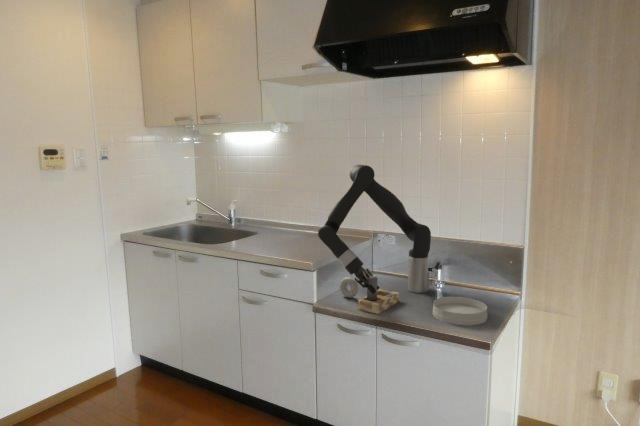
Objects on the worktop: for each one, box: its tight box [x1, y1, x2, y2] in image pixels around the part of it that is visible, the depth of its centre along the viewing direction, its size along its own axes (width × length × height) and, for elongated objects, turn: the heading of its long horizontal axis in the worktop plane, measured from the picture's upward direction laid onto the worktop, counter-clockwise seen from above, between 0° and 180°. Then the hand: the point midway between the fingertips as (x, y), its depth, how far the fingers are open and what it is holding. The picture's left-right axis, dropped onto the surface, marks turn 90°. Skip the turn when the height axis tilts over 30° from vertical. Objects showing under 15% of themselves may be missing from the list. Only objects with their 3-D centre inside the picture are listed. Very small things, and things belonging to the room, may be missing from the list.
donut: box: [339, 276, 359, 299], centre depth 220 cm, size 10×4×10 cm, turn 50°
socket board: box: [357, 288, 400, 315], centre depth 209 cm, size 20×10×4 cm, turn 145°
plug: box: [366, 275, 378, 301], centre depth 205 cm, size 4×4×10 cm
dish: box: [432, 296, 488, 326], centre depth 196 cm, size 22×22×5 cm
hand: (376, 290), depth 205 cm, fingers closed on plug, 4 cm apart
